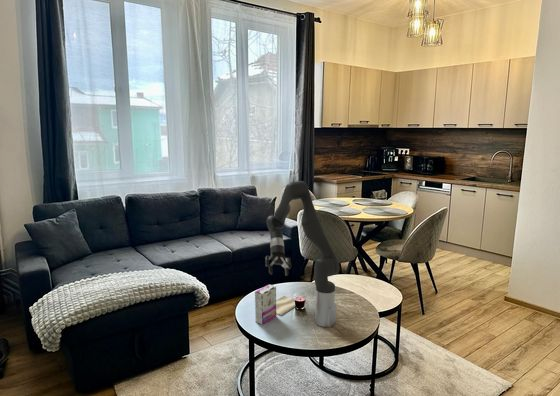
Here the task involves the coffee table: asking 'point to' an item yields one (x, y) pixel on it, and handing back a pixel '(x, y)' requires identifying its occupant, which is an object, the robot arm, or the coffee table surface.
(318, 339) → the coffee table surface
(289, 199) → the robot arm
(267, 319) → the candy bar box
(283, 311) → the beige board
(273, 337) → the coffee table surface
